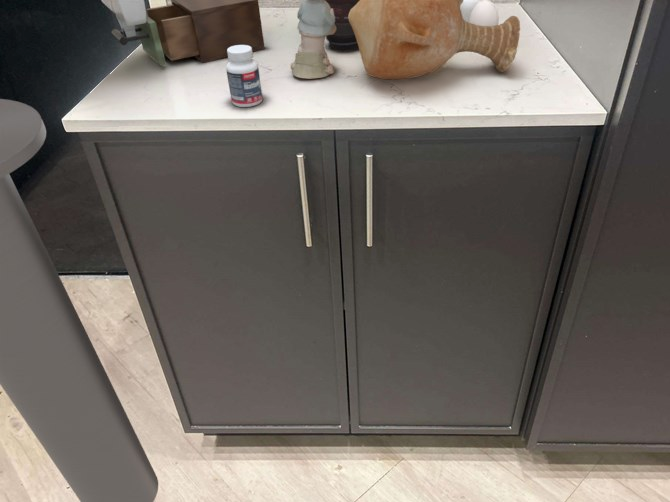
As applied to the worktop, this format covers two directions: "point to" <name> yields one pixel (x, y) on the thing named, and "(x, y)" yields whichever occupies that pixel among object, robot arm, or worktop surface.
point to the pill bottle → (243, 76)
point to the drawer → (165, 34)
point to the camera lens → (342, 26)
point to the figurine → (313, 39)
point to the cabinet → (223, 25)
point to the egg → (484, 14)
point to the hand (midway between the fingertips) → (130, 38)
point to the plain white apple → (468, 8)
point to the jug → (425, 36)
